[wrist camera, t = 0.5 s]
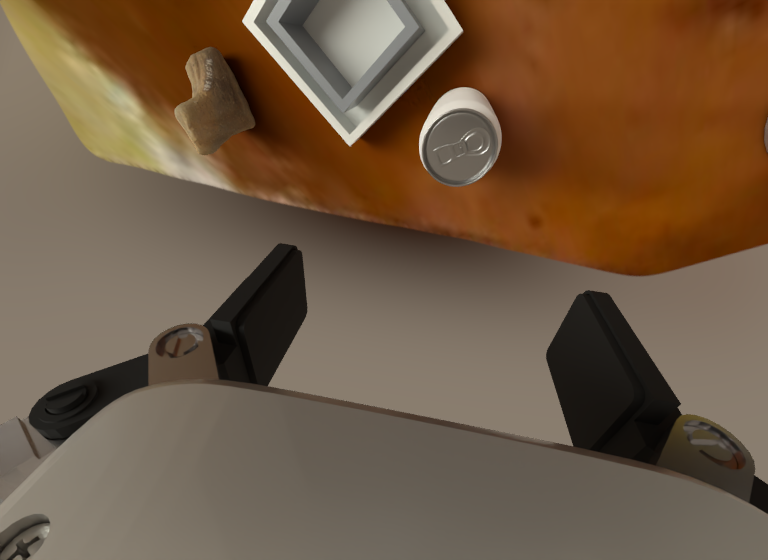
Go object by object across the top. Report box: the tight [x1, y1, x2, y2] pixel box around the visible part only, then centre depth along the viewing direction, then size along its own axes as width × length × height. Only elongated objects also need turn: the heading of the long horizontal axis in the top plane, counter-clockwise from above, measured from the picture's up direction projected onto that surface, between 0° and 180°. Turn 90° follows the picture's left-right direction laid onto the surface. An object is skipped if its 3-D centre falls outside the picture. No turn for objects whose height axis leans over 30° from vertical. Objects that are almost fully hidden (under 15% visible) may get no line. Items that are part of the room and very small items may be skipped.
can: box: [419, 87, 502, 187], centre depth 29 cm, size 6×6×12 cm
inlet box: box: [242, 0, 463, 146], centre depth 28 cm, size 14×14×6 cm
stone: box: [174, 47, 255, 155], centre depth 33 cm, size 9×5×10 cm, turn 12°
